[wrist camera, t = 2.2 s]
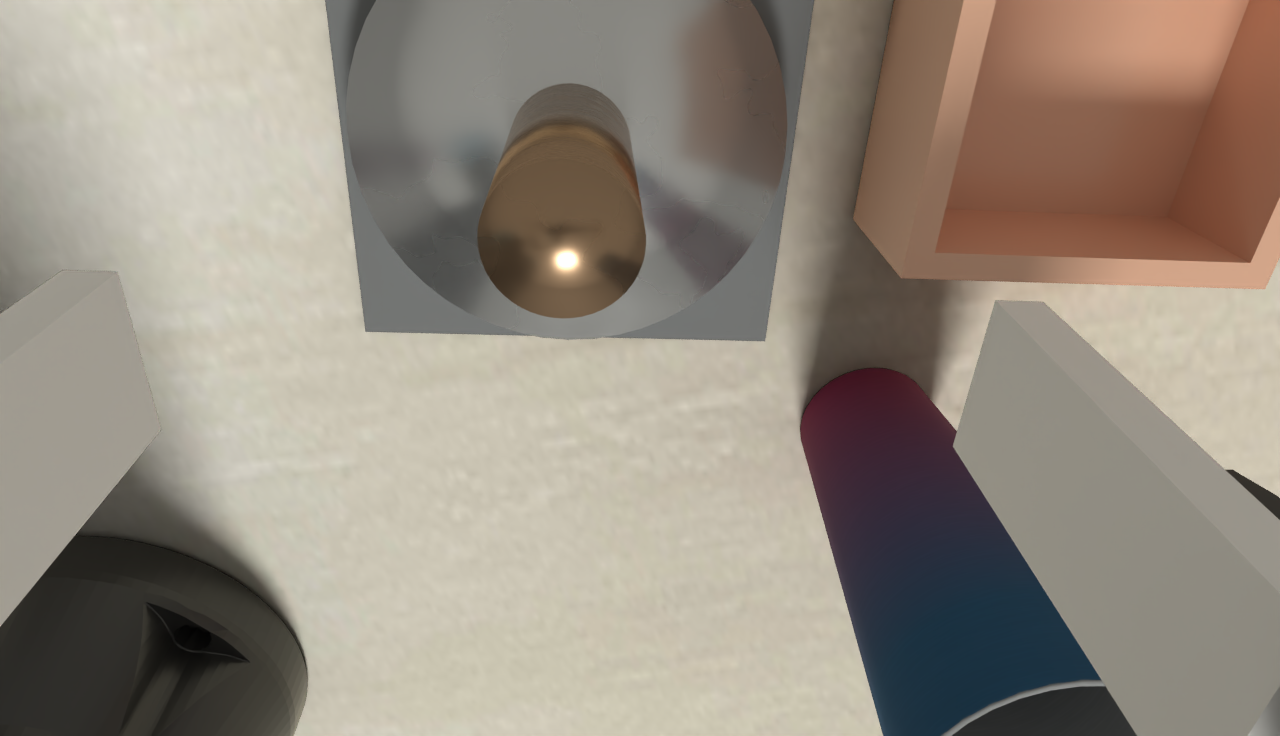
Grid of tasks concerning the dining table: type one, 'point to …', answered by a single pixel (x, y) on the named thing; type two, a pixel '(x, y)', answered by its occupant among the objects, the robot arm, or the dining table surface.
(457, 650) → the dining table surface
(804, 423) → the cup
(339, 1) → the mat
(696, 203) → the lid
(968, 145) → the dish
